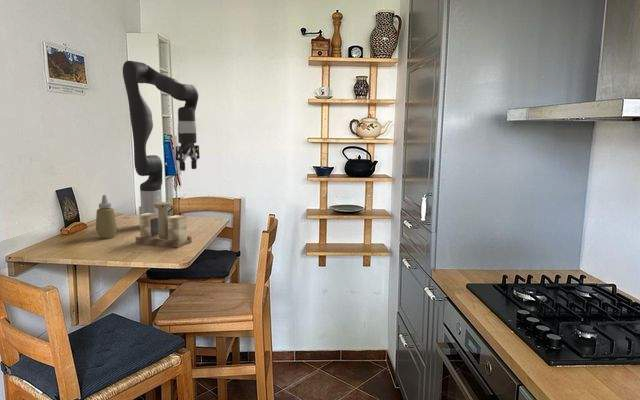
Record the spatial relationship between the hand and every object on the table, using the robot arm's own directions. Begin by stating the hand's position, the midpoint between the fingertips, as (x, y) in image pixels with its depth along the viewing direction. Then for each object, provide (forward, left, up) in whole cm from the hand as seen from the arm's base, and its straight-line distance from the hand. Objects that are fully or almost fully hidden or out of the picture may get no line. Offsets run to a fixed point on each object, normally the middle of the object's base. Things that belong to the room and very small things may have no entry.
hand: (188, 169), depth 190 cm
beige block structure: (0, -18, -28) cm, 33 cm away
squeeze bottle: (-28, -19, -28) cm, 44 cm away
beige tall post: (0, -18, -27) cm, 32 cm away
